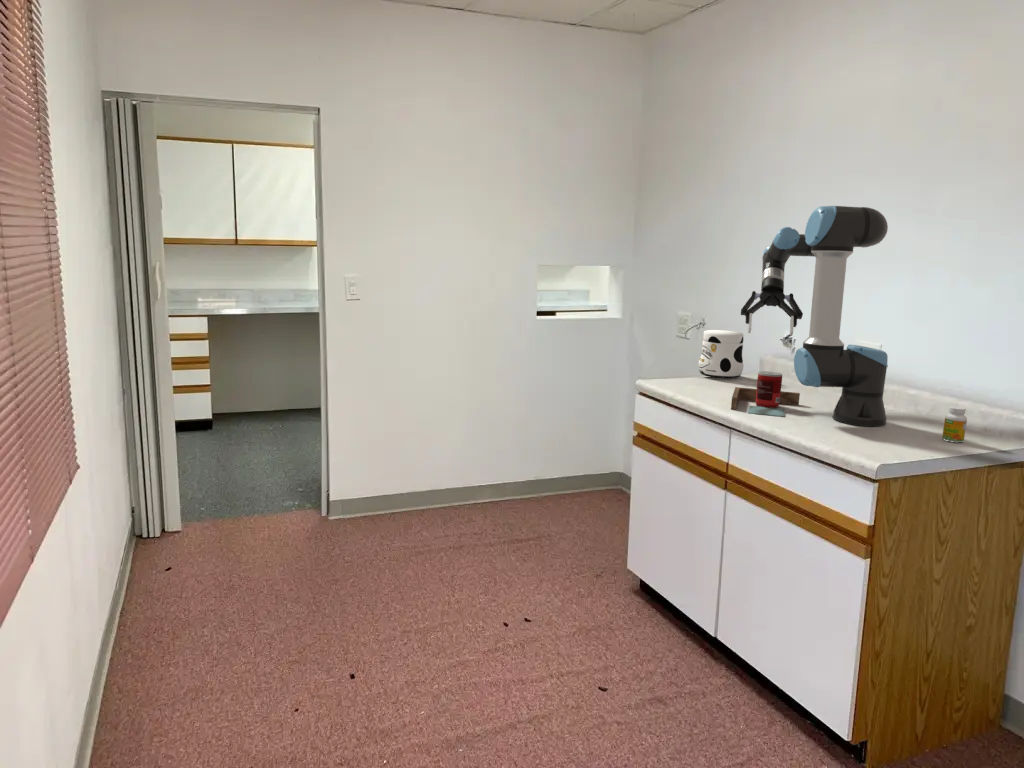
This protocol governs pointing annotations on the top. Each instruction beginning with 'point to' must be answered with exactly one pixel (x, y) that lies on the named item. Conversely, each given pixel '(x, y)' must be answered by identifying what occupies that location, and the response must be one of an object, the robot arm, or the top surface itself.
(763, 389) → the canned food
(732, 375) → the milk container
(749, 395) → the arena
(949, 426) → the supplement bottle
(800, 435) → the top surface
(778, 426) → the top surface
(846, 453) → the top surface
